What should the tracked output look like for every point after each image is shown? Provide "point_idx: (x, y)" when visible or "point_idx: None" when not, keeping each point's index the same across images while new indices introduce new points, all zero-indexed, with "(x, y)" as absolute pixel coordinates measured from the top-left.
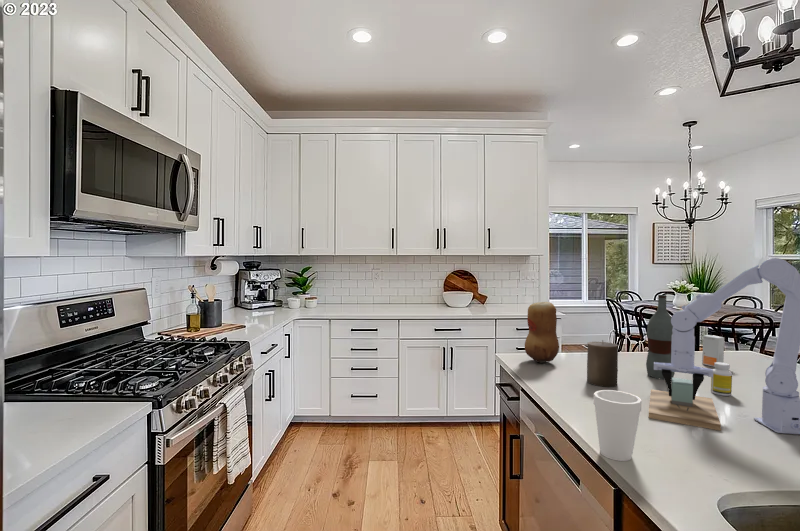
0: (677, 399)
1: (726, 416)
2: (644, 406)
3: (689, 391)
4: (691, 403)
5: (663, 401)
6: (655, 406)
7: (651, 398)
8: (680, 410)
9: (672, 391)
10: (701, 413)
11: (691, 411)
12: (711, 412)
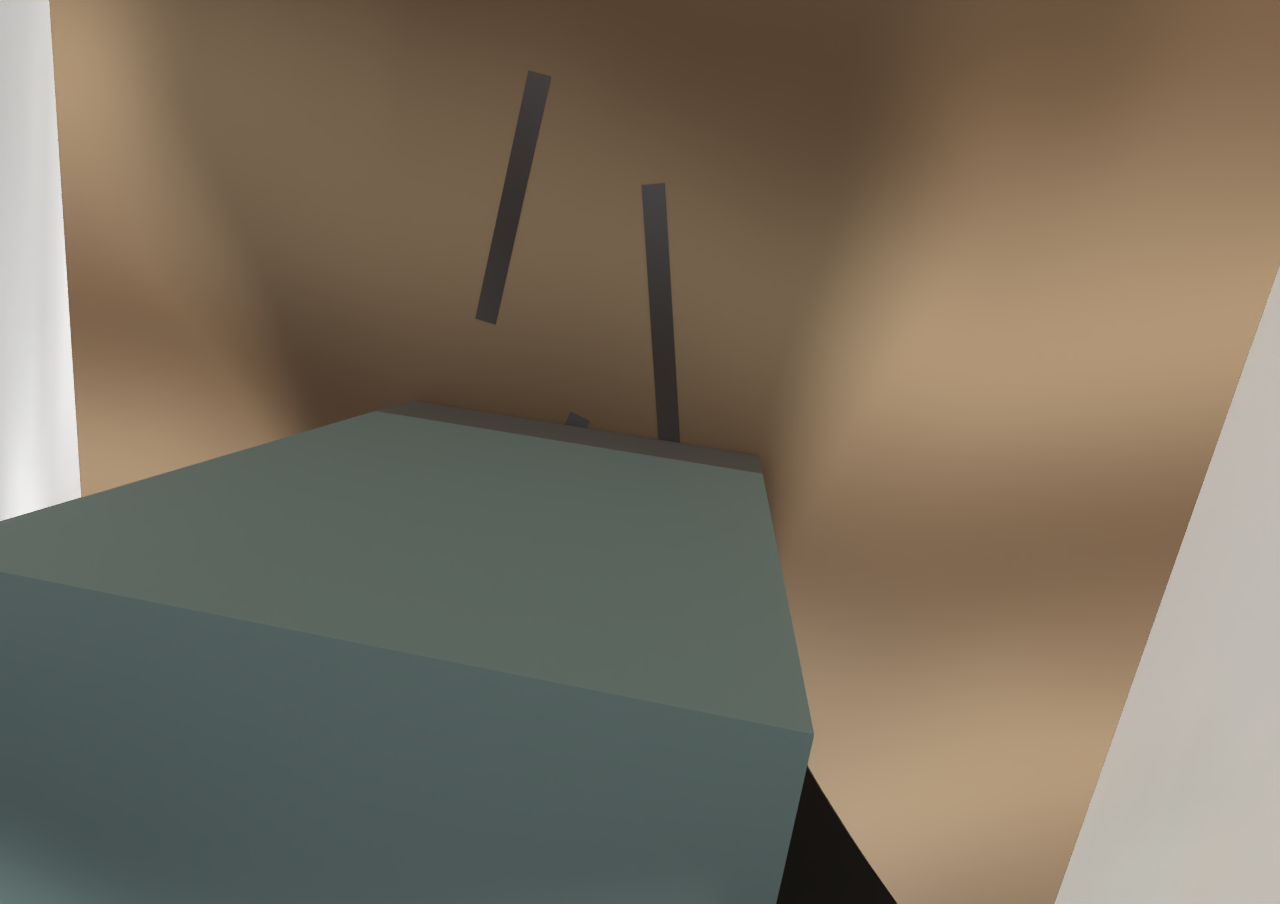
0: (646, 462)
1: (38, 401)
2: (1251, 385)
3: (251, 491)
4: (394, 413)
5: (894, 550)
6: (1195, 67)
7: (1104, 669)
8: (669, 27)
9: (765, 545)
10: (299, 20)
11: (462, 71)
12: (140, 200)
